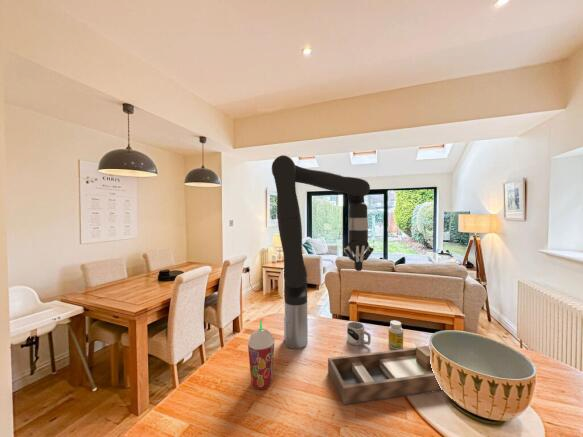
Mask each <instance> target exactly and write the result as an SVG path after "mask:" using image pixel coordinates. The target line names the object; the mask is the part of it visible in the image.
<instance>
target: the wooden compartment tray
mask: <svg viewBox="0 0 583 437" xmlns="http://www.w3.org/2000/svg"><path fill="white" fill-rule="evenodd" d="M327 374H328V375H329V377H330V380H331V382H332V384H333V386H334V388H335V391H336V392H337V395H338V397H339V399H340V401H341V403H342V406H349V405H357V404H362V403H369V402H374V401H375V402H376V401H381V400H382V401H383V400H389V399H395V398H401V397H408V395H410V396H416V395H422V393H423V394H427V393H426V392H429V393H433V392H432V391H436V392H442V390H441V388H440V386H439V384H438V382H437V380H436V378H435V375H434V373H433V371H426V370H425V369H424V368H423V367H421V366H420V365H419V364H418V363H417V362H416V347H411V348H410V347H409V348H402V349H400V350H396V349H392V350H384V351H383V350H382V351H377V352H376V351H375V352H368V353H360V354H349V355H344V356H341V355H340V356H334V357H332V356H331V357H327Z"/></svg>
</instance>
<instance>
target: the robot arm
mask: <svg viewBox="0 0 583 437" xmlns="http://www.w3.org/2000/svg"><path fill="white" fill-rule="evenodd" d="M271 164H272V165H271V174H272V176H273V178H274V183H275V189H276V215H277V216H276V217H277V225H278V226H277V227H278V234H279V238H280V243H281V248H282V253H283V278H284V279H283V280H284V317H283V332H284V333H283V334H284V336H283V338H284V344H285V348H291V349H296V350H297V349H303V348H305V347H307V345H308V344H309V339H308V338H309V335H308V334H309V333H308V330H309V329H308V328H309V327H308V324H309V323H308V271H307V267H306V265H305V261H304V256H303V229H302V228H303V227H302V226H303V225H302V217H301V210H300V205H299V199H298V196H297V188H296V183H300V184H305V185H309V186H312V187H317V188H320V189H323V190H327V191H332V192H335V193H345V194H347V198H348V205H349V220H348V222H349V223H348V243H347V246H346V247H343V249H342V250H343V252H344V253H345V255H346V256H347V257H348V258H349V259H350V260H351V261H353V262H354V265H353V266H354V270H355V271H357V272H361V271H362V270H363V262H364V261H367V260H368V258H369V257H370V256H371V254H372V253H373V252H374V250H375V249H374V248H373V247H372V246H371V245H370V244H369V241H368V240H369V222H368V221H369V220H368V206H367V204H366V203H365V196H366V195H368V194H369V193H370V189H371V185H370V184H369V182H368V181H367V180H366V179H363V178H360V177H354V176H353V177H352V176H345V175H342V174H340V173H334V172H331V171H327V170H326V171H325V170H318V169H310V168H305V167H302V166H299V165H297V164H295V162H294V160H293V159H292V158H291V157H290V156H288V155H284V154H283V155H279V156H277V157H276V158H275V159H274V160H273V161H272V163H271ZM351 252H352V253H351Z"/></svg>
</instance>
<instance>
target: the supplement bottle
mask: <svg viewBox="0 0 583 437" xmlns="http://www.w3.org/2000/svg"><path fill="white" fill-rule="evenodd" d="M389 325H390V326H389V327H388V346H389V348H391V349H392V350H400V349H404V329H403V328H402V322H401V321H399V320H394V319H393V320H390V323H389Z"/></svg>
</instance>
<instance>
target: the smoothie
mask: <svg viewBox="0 0 583 437" xmlns="http://www.w3.org/2000/svg"><path fill="white" fill-rule="evenodd" d="M275 340H276V339H275V337H274V336H273V334H272V333H271V331H269V330H268V329H266V328H263V321H262V320H260V321H259V328H257V329H255V330H254V331H253V332H252V333H251V334H250V337H249V339H248V340H247V349H248V361H249V373H250V381H251V384H252V385H253V387H254V388H255V389H256V388H257V390H265V389H267V388H269V387H270V386H271V384H272V382H273V378H274V361H275V360H274V357H275V356H274V355H275V353H274V352H275Z"/></svg>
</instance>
